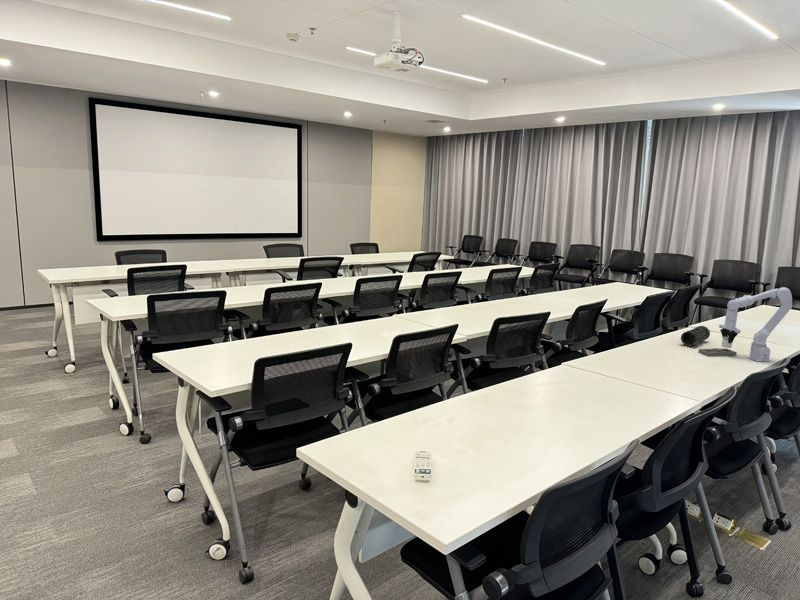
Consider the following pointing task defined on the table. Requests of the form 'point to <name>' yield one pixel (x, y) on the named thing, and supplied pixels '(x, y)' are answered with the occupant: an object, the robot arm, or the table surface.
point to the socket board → (717, 352)
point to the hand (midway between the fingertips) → (727, 342)
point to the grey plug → (726, 343)
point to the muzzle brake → (695, 335)
